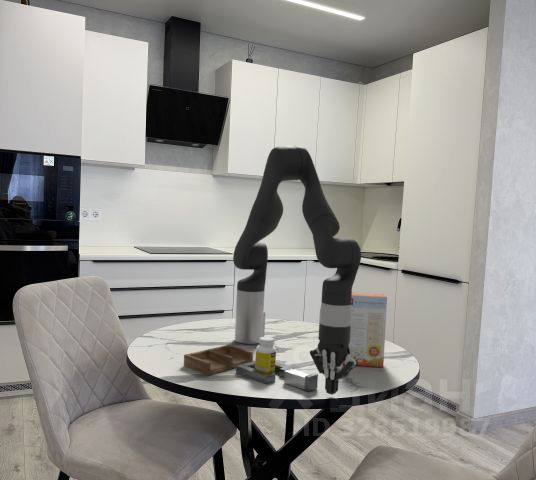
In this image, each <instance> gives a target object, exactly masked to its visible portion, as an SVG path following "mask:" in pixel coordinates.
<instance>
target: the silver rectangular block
mask: <svg viewBox="0 0 536 480" xmlns="http://www.w3.org/2000/svg"><path fill="white" fill-rule="evenodd" d="M318 376H319V374H318V373H316V372H315V373H314V372H313V373H307V372H303V371H300V370H297V369H295V368H294V369H289V370H286V371H284V377H283V383H285V384H287V385H290V386H293V387H295V388H298V389H301V390H304V392H305V391H306V392H311V391H315V390H316V389H318V383H319V382H318V380H319V377H318Z"/></svg>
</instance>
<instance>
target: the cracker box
mask: <svg viewBox="0 0 536 480" xmlns="http://www.w3.org/2000/svg"><path fill="white" fill-rule="evenodd" d="M387 301H388V297H387V295H386V294H384V293H369V292H352V298H351V312H352V316H351V333H350V343H349V349H350V355H351V357H352V358H353V359H356V360H357V361H358V364H357V365H356V366H361V367H374V368H376V367H377V368H384V365H385V364H384V362H385V361H384V360H385V343H386V327H387V325H386V323H387V305H388V302H387ZM345 361H346V360H345ZM345 361H344V362H343V365H344V366H345ZM343 365H342V366H343Z"/></svg>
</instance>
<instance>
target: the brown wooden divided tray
mask: <svg viewBox="0 0 536 480" xmlns="http://www.w3.org/2000/svg"><path fill="white" fill-rule="evenodd" d="M253 359H254V351H251V350H248V349H244V348H241V347H238V346H235V345H232V344H226V345H221V346H217V347H212V348H207V349H204V350H199V351H195V352H190V353H186V354H183V367H185V368H187V369H190V370H193V371H195V372H197V373H199V374H202V375H205V376H211V375H213V374H219V373H222V372H225V371H228V370H232V369H236V366H238V365H241V364H245V363H249V362H252V361H254V360H253Z"/></svg>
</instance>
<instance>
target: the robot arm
mask: <svg viewBox="0 0 536 480" xmlns="http://www.w3.org/2000/svg"><path fill="white" fill-rule="evenodd" d="M264 167H265V168H264V171H263V175H262V179H261V183H260V186H259V189H258V192H257V194H256V197H255V200H254V203H253V204H252V207H251V209H250V211H249V212H250V213H249V216H248V219H247V221H246V224H245V227H244V229H243V231H242V233H241V236H240V237H239V239H238V241H237V242H236V245H235V247H234V252H233V257H232V261H233V264H234V266H235V267H236V269H239V270H251V271H253V272H252V273H251V274H250V275H248V276H247V277H244V278H241V279H239V280H238V281H237V282H236V283H237V284H236V302H235V303H236V307H235V309H236V310H235V324H234V325H235V327H234V328H235V330H234V341H235V342H237V343H240V344H247V345H255V344H259V338H260V337H265V332H266V331H265V329H266V312H265V311H264V307H265V291H266V290H265V287H266V280H267V271H268V270H267V269H268V268H267V267H268V258H269V253H268V252H269V251H268V246H267V244H266V243H265V242H263V241H262V242H261V240H263V239H265V238H266V237H268V236H269V235H270V234H272V233H273V232H274V231H275V230H276V229H277V227H278V226H279V223H280V221H281V219H282V216H283V213H284V205H283V202H282V198H281V197H280V195H279V192H278V188H279V186H280V184H281V183H282V182H285V181H300V182H301V183H302V185H303V186H304V196H303V200H302V205H301V206H302V208H301V209H302V215H303V219H304V221H305V223H306V225H307V226H308V229H309V230H310V233H311V234H312V238H313V245H314V251H315V257H316V259H317V261H318V263H320V264H321V265H322V266H323V268H327V269H336V271H335V273H334V274H333V275H332V276H330V277H327V278H325V279H324V280H323V281H322V287H321V300H320V301H321V304H320V309H319V310H320V311H319V320H318V321H319V323H318V344H317V347H316V348H314V349H312V350H310V351H309V354H310V356H311V358H312V360H313V363H314V365H315V367H316V369H317V372H318V373H319V374H322V375H323V376H324V377H325V381H324V389H325V392H326V394H329V395H332V396H333V395H335V394H336V393H337V392H338V390H339V381H340V379H343V378H345V377H347V376H348V375H349V373H350V372H352V370H353V369H355V368H356V366H358V365H357V364H358V361H357V360H356V359H353V358H352V357H351V355H350V349H349V343H350V333H351V316H352V312H351V298H352V291H353V290H352V289H353V286H354V283H355V280H356V278H357V277H356V276H357V275H358V271H359V269H360V264H361V260H362V252H361V251H362V250H361V247H360V244H359V243H358V242H357V240H355V239H354V238H348V237H347V238H341V237H340V238H338V237H337V238H336V237H335V236H336V235H337V234H338V233H339V232H340V228H341V227H340V222H339V221H338V219H337V217H336V215H335V213H334V211H333V209H332V208H331V206H330V204H329V202H328V201H327V198H326V196H325V193H324V190H323V188H322V185H321V181H320V178H319V176H318V173H317V169H316V167H315V164H314V161H313V159H312V156H311V154H310V152H309V150H308V149H307V148H305V147H304V146H302V145H286V146H285V145H282V146H281V145H280V146H276V147H273V148H272V149H271V150H270V152H269V154H268V156H267V160H266V163H265V166H264ZM345 360H346V361H345ZM344 361H345V365H344V366H343V362H344Z"/></svg>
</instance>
